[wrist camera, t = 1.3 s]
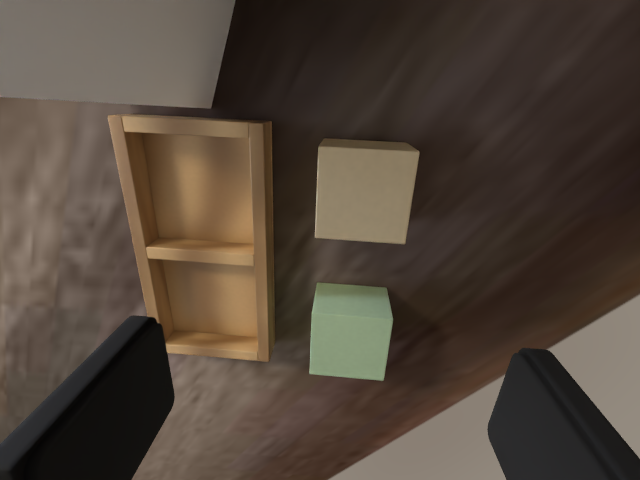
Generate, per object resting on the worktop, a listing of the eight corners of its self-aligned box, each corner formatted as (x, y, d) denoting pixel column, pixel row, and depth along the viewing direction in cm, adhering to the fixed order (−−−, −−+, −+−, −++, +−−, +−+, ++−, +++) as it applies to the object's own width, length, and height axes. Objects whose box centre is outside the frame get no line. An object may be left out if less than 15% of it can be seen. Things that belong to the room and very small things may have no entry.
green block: (386, 287, 28) (393, 319, 24) (378, 342, 30) (383, 380, 26) (317, 282, 28) (311, 312, 24) (314, 337, 31) (309, 374, 27)
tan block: (407, 142, 23) (420, 151, 19) (396, 221, 26) (405, 244, 21) (323, 138, 24) (318, 145, 19) (319, 216, 26) (314, 238, 22)
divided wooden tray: (272, 120, 23) (263, 123, 21) (275, 342, 31) (269, 362, 29) (130, 113, 24) (106, 115, 22) (168, 333, 32) (154, 351, 29)
